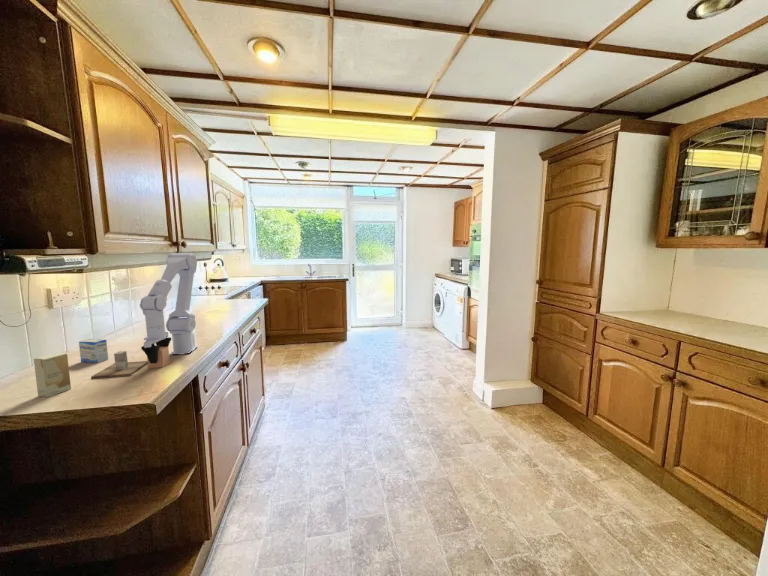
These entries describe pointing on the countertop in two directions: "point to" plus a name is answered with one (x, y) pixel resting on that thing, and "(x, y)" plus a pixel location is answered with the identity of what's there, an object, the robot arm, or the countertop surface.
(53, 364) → the skincare box
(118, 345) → the countertop surface
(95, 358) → the medicine box
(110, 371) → the post board
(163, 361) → the square cap
